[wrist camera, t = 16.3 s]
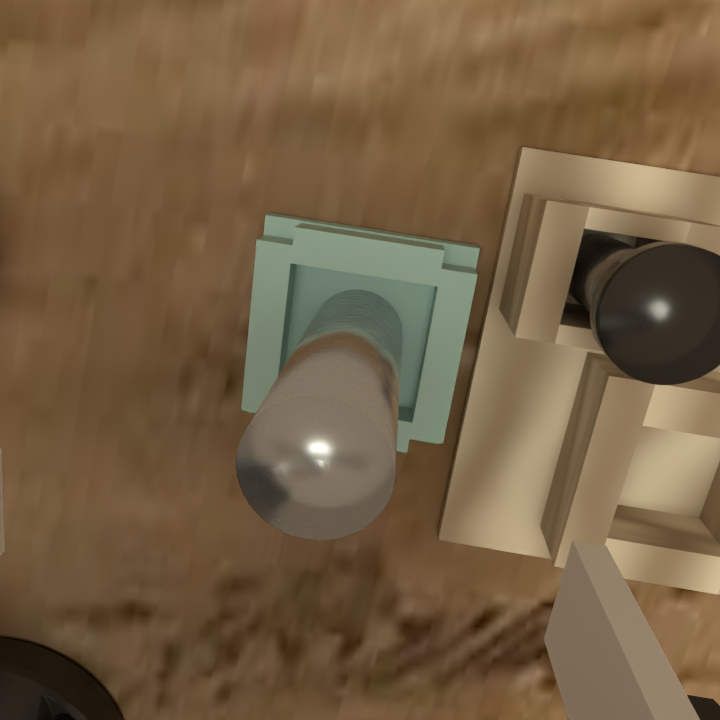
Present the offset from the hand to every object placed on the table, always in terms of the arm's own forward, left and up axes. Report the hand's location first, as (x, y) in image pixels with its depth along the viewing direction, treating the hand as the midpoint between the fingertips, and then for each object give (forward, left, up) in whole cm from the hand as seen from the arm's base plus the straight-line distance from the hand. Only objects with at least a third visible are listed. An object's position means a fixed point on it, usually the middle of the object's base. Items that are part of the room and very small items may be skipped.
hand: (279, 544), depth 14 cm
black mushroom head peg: (+10, +5, -17) cm, 20 cm away
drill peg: (0, 0, -17) cm, 17 cm away
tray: (0, 0, -18) cm, 18 cm away
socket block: (+15, -1, -18) cm, 24 cm away
